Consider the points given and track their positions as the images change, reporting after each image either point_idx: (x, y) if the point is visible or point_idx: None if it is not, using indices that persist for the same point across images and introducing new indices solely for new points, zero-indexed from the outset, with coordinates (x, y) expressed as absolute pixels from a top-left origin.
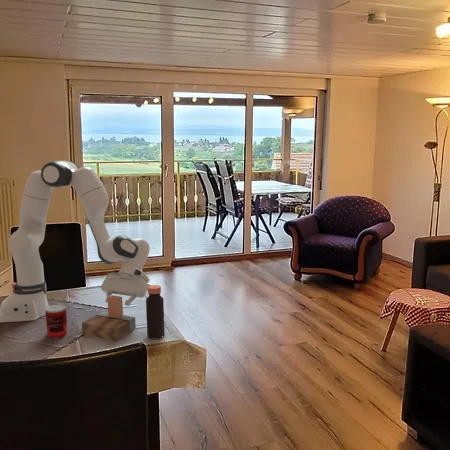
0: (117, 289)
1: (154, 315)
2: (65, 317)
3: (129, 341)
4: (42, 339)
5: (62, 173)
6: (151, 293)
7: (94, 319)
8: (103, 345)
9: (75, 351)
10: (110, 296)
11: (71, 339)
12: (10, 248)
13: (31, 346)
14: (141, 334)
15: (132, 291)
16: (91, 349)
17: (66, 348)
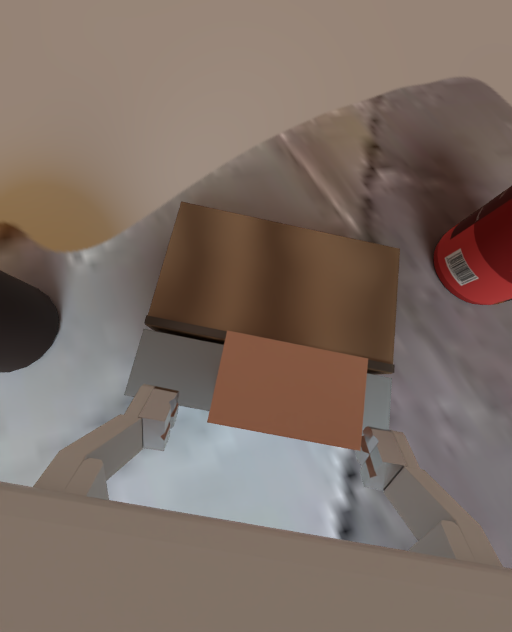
0: (337, 566)
1: None
2: (506, 225)
3: (132, 247)
4: None
5: None
6: None
7: (362, 305)
8: (229, 198)
9: (308, 144)
10: (354, 404)
11: (383, 230)
12: None
13: (479, 161)
14: (96, 327)
15: (18, 516)
16: (259, 164)
17: (353, 161)
